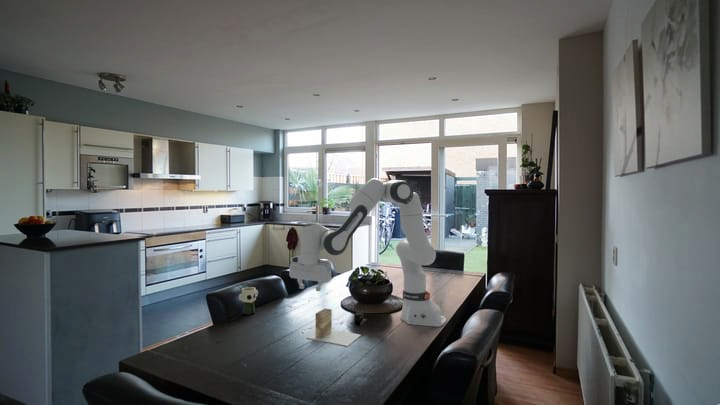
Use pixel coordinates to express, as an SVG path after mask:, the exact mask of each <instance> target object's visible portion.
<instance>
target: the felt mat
mask: <svg viewBox="0 0 720 405" xmlns="http://www.w3.org/2000/svg"><path fill="white" fill-rule="evenodd" d="M361 336H362V334H359V333H353V332H348V331H343V330H337V329H332V332H331V333H330V334H328V335H327V336H325V337H324V338H317V337H315V331H314V332H312V333H311V334H309V335H308V336H307V337H306V339H308V340H312V341H316V342H323V343H328V344H331V345H332V344H333V345H337V346H342V347H349V346H350V345H351V344H353V343H354V342H355V341H356V340H357V339H359V338H360V337H361Z"/></svg>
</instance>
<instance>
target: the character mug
mask: <svg viewBox="0 0 720 405" xmlns="http://www.w3.org/2000/svg"><path fill="white" fill-rule="evenodd" d="M258 295H259V291H258V290H257V289H256V287H254V286H246V287H243V288H241V293H240V294H239V295H238V298H239V301H242V302H243V305H242V306H243V307H242V313H243V314H244V315H251V314H255V313H256V306H255V302H256V300H257V297H258Z"/></svg>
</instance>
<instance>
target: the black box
mask: <svg viewBox="0 0 720 405" xmlns="http://www.w3.org/2000/svg"><path fill="white" fill-rule="evenodd" d="M367 320H368V319H367V318H364V313H363V312H359V311H357V312H356V313H355V314H354V320H353V321H352V322H350V325H353V326H359V327H361V326H362V325H363V324H364V323H365V322H366V321H367Z"/></svg>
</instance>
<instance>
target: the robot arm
mask: <svg viewBox="0 0 720 405" xmlns="http://www.w3.org/2000/svg"><path fill="white" fill-rule="evenodd" d="M380 201H382V202H384V203H390V204H397V206H398V208H399V218H400V226H401V227H400V228H401V232H402V233H403V235H404V236H405V239H404V240H401V241H398V243H397V245H396V247H395V252H396V255H397V257H398V258H399V260H400V264H401V268H402V269H401V270H402V273H403V274H402V275H403V290H402V307H401V308H402V309H401V313H400V316H399V318H400V320H402V321H403V322H405V323H406V324H408V325H414V326H415V325H416V326H424V327H437V328H438V327H442V326H444V325H445V324H446V322H447V318H446V316H444V315H442V311H441V307H440V306H439V305H438V304H436V303H435V301H433V300H432V299H431V292H428V291H427V275H426V273H425V271H424V269H423V266H430V265H432V264H433V263H434V262H435V260H436V258H437V252H436V250H435V248H434V247H433V246H432V244H431V242H430V240H429V238H428V236H427V233H426V230H425V224H424V217H423V216H424V215H423V208H422V204H421V199H420V196H419V194H418V193H417V192H414V191H413V190H412V186H411V185H410V183H408V182H407V181H405V180H402V179H401V180H400V179H391V180H385V181H382V180H381V179H378V178H375V177H373V178H370V179H368V180H367V181H366V182H365V183H364V184H363V185H361V187H359V189H358V190H357V191H356V192H355V193H354V194H353V196H352V197H351V199H350V200H349V209H350V213H349V215H348V216H347V218H346V219H345V220H344V222H343V223H341V226H340V227H338V229H336V230H333V229H331V228H328V227H325V226H324V225H321V224H320V222H316V221H315V222H314V221H313V222H308V223H305V224H304V225H302V228H301V232H300V245H301V248H300V254H298V255H295V256H293V257H291V258H290V264H289V270H288V272H289V273H288V274H289V277H290V278H291V279H297V280H296V281H297V283H298V286H299V289H302V290H304V289H305V284H304V283H303V280H306V281H312V282H313V281H314V282H317V286H315V292H321V290H322V285H323V284H324V283H329V282H331V280H332V270H331V269H332V265H331V262H330V261H328V260H324V259H321V251H323V250H324V251H326V252H327V253H328V254H329V255H332V256H340V255H342V254H343V253H344V252H345V251H346V250H347V248H348V245H349V242H350V240H351V238H352V236H353V235H354V234H355V232H356V231H357V229H358V228H360V225H362V223H363V221H364V220H365V218H366V217H368V215H369V214H370V213H371V211H372V210H373V209H374V208H376V205H378V204H379V202H380Z"/></svg>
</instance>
